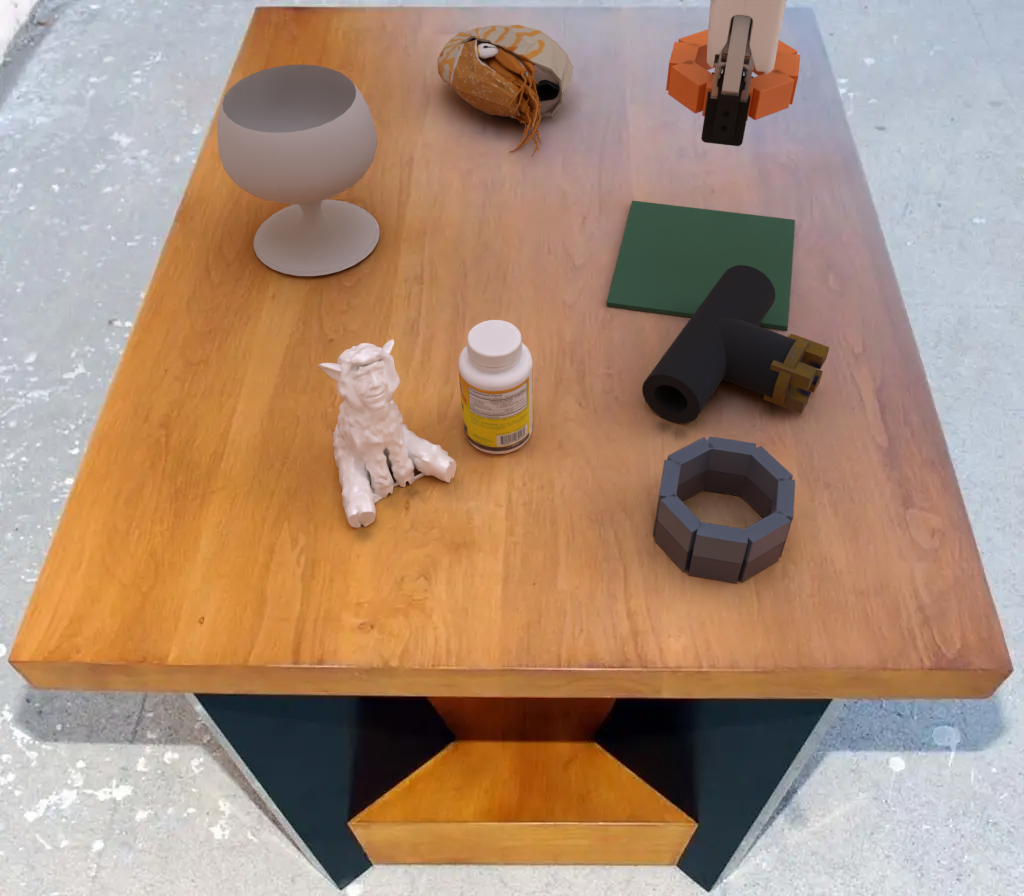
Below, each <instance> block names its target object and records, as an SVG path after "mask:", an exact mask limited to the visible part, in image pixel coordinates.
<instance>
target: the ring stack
mask: <svg viewBox="0 0 1024 896" xmlns="http://www.w3.org/2000/svg"><path fill="white" fill-rule="evenodd" d="M793 477H794V475H793V474H792V473H791V472H790V471H789V470H788V469H787V468H786V467H785V466H783V465H782V464H781V463H780V461H778V460H777V459H776V458H775V457H773V456H772V454H771V453H770V452H768V451H767V450H766V449H765V448H764V447H763V446H762V445H759V446H758V447H757V444H756V442H750V441H749V442H748V441H743V440H736V439H729V438H723V437H717V436H709V437H708V439H707V438H706V437H702V438H699V439H698V440H696V441H694V442H692V443H690V444H688V445H686V446H683V447H682V448H680V449H678V450H677V451H674V452H673V453H671V454H669V455H667V458H666V459H664V461H663V467H662V473H661V480H660V486H659V492H658V498H657V505H656V511H655V516H654V524H653V531H652V537H654V542H655V543H656V544H657V546H659V547H660V549H661V550H662V551H663V552H664V553H665V554H666V555H667V556H668V558H669V559H671V561H672V562H673V563H674V564H675V565H676V567H678V569H679V570H680V571H681V572H682V573H685V572H687V571H688V576H690V577H698V578H703V579H708V580H714V581H720V582H724V583H725V582H726V583H731V584H737V583H738V580H739V581H740V582H741V583H744V582H746V581H747V580H749V579H750V578H752V577H754V576H755V575H757V574H759V573H761V572H762V571H765V570H766V569H767V568H769V567H771V566H772V565H774V564H776V563H778V562H779V559H780V558H781V557H782V555H783V551H784V548H785V545H786V542H787V539H788V535H789V533H790V529H791V525H792V523H793V520H794V516H795V515H794V514H795V512H794V511H795V495H796V494H795V491H796V480H795V479H793ZM703 491H707V492H713V493H718V494H725V495H731V496H738V497H741V498H742V499H743V500H744V501H745V502H746V503H747V504H748V505H749V506H750V507H751V508H752V509H754V511H755V512H756V513H758V514H759V516H760V517H761V519H759V520H758V521H756V522H755V523H753V524H751V525H749V526H748V527H746V528H740V527H734V526H727V525H722V524H716V523H709V522H704V521H701V519H700V518H699V517H698V516H697V515H696V514H695V513H694V512H693V510H691V509H690V507H688V506H687V505H686V504H685V503H684V501H686V500H688V499H689V498H691V497H694V496H695V495H697V494H699V493H702V492H703Z"/></svg>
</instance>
